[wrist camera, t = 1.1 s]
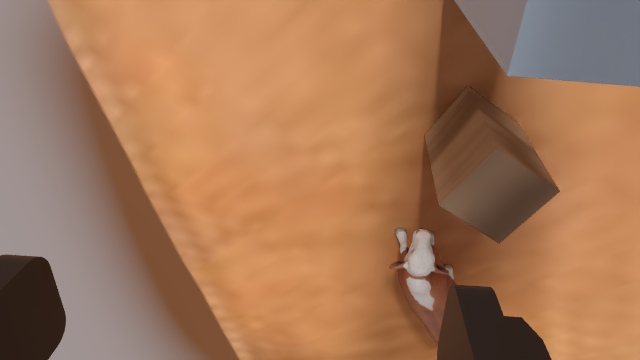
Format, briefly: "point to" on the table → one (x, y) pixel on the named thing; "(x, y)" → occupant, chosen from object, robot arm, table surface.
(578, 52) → the bluegrey block
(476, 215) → the walnut block
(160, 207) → the table surface
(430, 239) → the bull figurine
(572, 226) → the table surface
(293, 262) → the table surface
